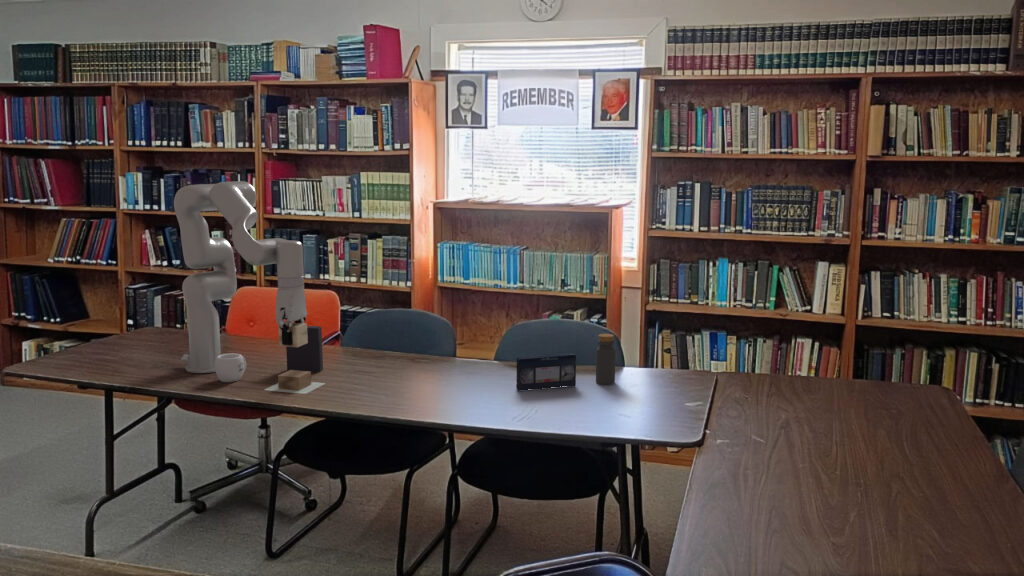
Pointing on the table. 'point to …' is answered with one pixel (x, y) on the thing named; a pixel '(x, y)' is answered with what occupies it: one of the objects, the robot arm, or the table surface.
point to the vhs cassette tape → (546, 371)
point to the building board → (302, 391)
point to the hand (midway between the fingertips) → (293, 341)
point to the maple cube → (296, 335)
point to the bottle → (605, 360)
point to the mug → (230, 367)
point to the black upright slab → (307, 353)
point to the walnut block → (294, 380)
